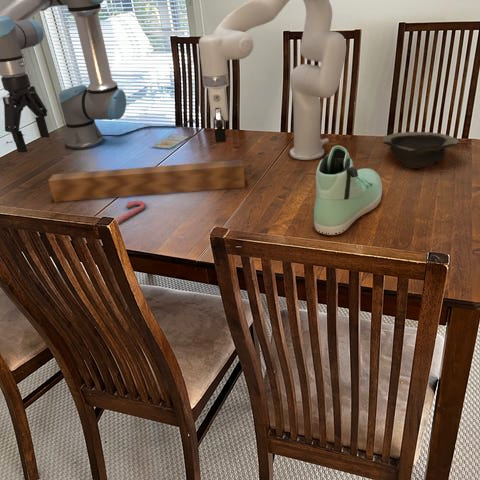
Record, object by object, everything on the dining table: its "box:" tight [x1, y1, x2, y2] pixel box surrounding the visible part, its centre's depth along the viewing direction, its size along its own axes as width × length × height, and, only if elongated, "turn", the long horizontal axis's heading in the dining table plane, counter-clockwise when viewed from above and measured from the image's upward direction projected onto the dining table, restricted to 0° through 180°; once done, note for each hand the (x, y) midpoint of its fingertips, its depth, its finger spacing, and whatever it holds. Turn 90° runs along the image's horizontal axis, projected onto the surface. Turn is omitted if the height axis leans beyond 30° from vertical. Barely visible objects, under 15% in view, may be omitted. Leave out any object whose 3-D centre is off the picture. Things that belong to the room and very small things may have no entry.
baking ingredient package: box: [152, 134, 189, 149], centre depth 198 cm, size 9×1×15 cm
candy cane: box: [115, 200, 146, 225], centre depth 145 cm, size 6×15×2 cm, turn 145°
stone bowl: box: [381, 131, 461, 169], centre depth 164 cm, size 25×25×9 cm
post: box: [47, 159, 246, 203], centre depth 157 cm, size 62×5×8 cm, turn 92°
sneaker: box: [313, 145, 383, 236], centre depth 133 cm, size 14×35×20 cm, turn 152°
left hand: (34, 144), depth 152 cm, fingers open, 13 cm apart
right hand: (221, 136), depth 150 cm, fingers open, 9 cm apart
